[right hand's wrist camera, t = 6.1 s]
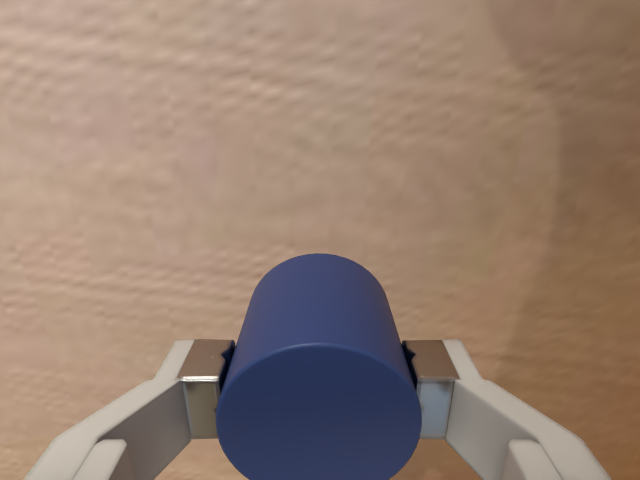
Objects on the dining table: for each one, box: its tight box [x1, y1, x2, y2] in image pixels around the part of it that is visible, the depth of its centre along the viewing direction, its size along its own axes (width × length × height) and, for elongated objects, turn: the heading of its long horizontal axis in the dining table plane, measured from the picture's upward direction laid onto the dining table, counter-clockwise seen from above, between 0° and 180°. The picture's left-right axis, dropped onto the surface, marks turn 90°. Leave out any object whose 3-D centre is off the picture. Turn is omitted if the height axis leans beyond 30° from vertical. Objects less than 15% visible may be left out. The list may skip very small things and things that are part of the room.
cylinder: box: [215, 254, 422, 480], centre depth 11 cm, size 4×4×4 cm
